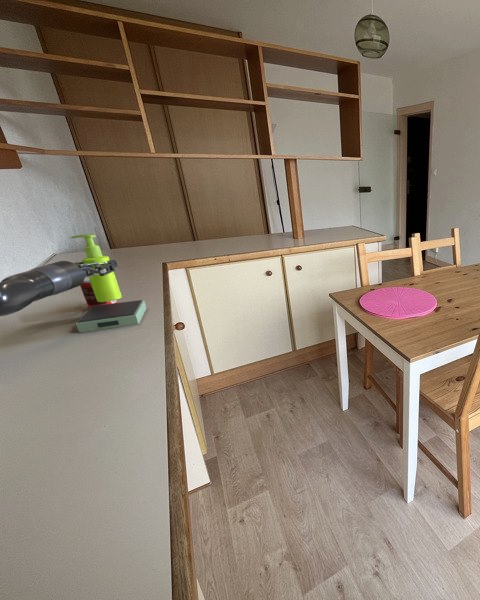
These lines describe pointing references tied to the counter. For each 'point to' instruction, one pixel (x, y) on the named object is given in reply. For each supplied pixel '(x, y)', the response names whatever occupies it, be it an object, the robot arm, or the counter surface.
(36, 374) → the counter surface
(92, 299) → the canned food
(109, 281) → the soap dispenser
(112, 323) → the scale
